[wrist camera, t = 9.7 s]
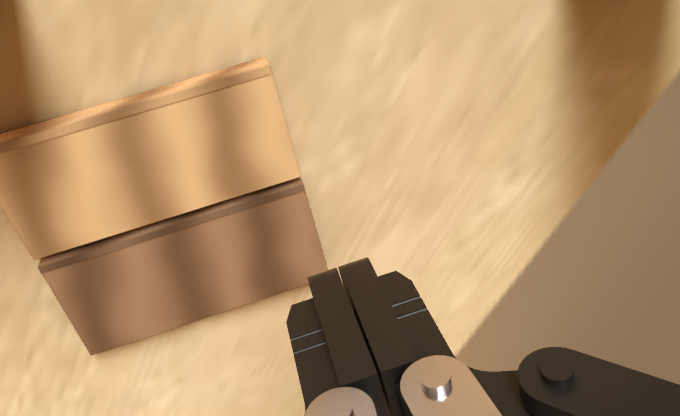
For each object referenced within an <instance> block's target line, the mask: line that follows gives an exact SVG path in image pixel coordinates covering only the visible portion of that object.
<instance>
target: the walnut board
mask: <svg viewBox="0 0 680 416" xmlns="http://www.w3.org/2000/svg"><path fill="white" fill-rule="evenodd" d="M38 269H39V271H40V272H41V274H43V276H44V278H45V279H46V281H47V283H48V284H49V286H50V288H51V289H52V291H53V293H54V294H55V296H56V298H57V299H58V301H59V303H60V304H61V306H62V308H63V310H64V311H65V313H66V315H67V316H68V318H69V320H70V321H71V323H72V325H73V326H74V328H75V330H76V331H77V333H78V335H79V336H80V338H81V340H82V341H83V343H84V345H85V346H86V348H87V350H88V351H89V353H90V355H94V354H97V353H100V352H103V351H106V350H109V349H112V348H115V347H119V346H122V345H125V344H128V343H131V342H134V341H137V340H140V339H143V338H146V337H149V336H152V335H155V334H158V333H161V332H164V331H167V330H170V329H173V328H176V327H179V326H182V325H185V324H188V323H191V322H194V321H197V320H200V319H203V318H206V317H209V316H212V315H215V314H218V313H221V312H224V311H227V310H230V309H233V308H236V307H239V306H242V305H245V304H248V303H251V302H255V301H258V300H261V299H264V298H267V297H270V296H273V295H276V294H279V293H282V292H285V291H288V290H291V289H294V288H297V287H300V286H303V285H306V284H309V282H308V279H307V277H309V276H312V275H315V274H319V273H322V272H325V271H328V269H327V265H326V262H325V258H324V255H323V251H322V248H321V244H320V241H319V237H318V234H317V230H316V227H315V223H314V220H313V216H312V213H311V210H310V206H309V203H308V199H307V196H306V192H305V188H304V185H303V182H302V180H301V178H300V177H298V178H295V179H292V180H289V181H285V182H282V183H279V184H276V185H273V186H269V187H266V188H263V189H260V190H257V191H253V192H250V193H247V194H244V195H241V196H237V197H234V198H231V199H228V200H225V201H221V202H218V203H215V204H212V205H209V206H205V207H202V208H199V209H196V210H193V211H189V212H186V213H183V214H180V215H177V216H173V217H170V218H167V219H164V220H161V221H157V222H154V223H151V224H148V225H145V226H141V227H138V228H135V229H132V230H129V231H125V232H122V233H119V234H116V235H113V236H109V237H106V238H103V239H100V240H97V241H94V242H90V243H87V244H84V245H81V246H78V247H74V248H71V249H68V250H65V251H62V252H58V253H55V254H52V255H49V256H46V257H42V258H41V260H40V263H39V266H38Z"/></svg>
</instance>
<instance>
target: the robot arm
mask: <svg viewBox="0 0 680 416" xmlns="http://www.w3.org/2000/svg"><path fill="white" fill-rule="evenodd" d="M339 271H340V275H341V278H340V276H339V273H338V271H337V268H334V269H331V270H328V271H325V272H322V273H319V274H315V275H312V276H309V277H307V279H308V282H309V285H310V289H311V292H312V295H313V298H312V299H309V300H306V301H303V302H300V303H297V304H294V305H292V306H291V309H290V312H289V316H288V319H287V322H286V323H287V327H288V332H289V336H290V340H291V345H292V349H293V353H294V358H295V362H296V367H297V371H298V375H299V380H300V384H301V389H302V393H303V397H304V402H305V415H304V416H680V385H678V384H675V383H672V382H669V381H666V380H663V379H660V378H657V377H654V376H651V375H648V374H644V373H642V372H639V371H636V370H632V369H629V368H626V367H623V366H620V365H617V364H614V363H611V362H608V361H605V360H602V359H599V358H596V357H592V356H590V355H587V354H583V353H580V352H577V351H574V350H571V349H567V348H561V347H548V348H543V349H539V350H537V351H534V352H532V353H531V354H529V355H528V356H527V357H525V358H524V360H523V361H522V362H521V364H520V366H519V369H518V371H501V372H486V371H480V370H476V369H473V368H470V367H468V366H466V365H465V364H464V363H463V362H461V361H460V360H458V359H457V358H456V357H455V356H454V355H453V353H452V352H451V350H450V348H449V347H448V345H447V343H446V341H445V339H444V338H443V336H442V334H441V332H440V330H439V329H438V327H437V325H436V323H435V322H434V320H433V318H432V316H431V314H430V313H429V311H428V310H427V308H426V306H425V304H424V302H423V300H422V298H420V295H419V293H418V291H417V290H416V288H415V286H414V284H413V282H412V281H411V280H410V279H408V278H406V277H405V276H403V275H402V274H400V273H399V272H397V271H394V272H391V273H388V274H385V275H382V276H378V277H377V275H376V273H375V271H374V269H373V266H372V264H371V262H370V260H369V259H368V257H367V258H364V259H361V260H358V261H355V262H352V263H349V264H346V265H343V266H340V267H339ZM341 279H342V281H341ZM342 282H343V284H342Z"/></svg>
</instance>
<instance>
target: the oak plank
mask: <svg viewBox="0 0 680 416" xmlns="http://www.w3.org/2000/svg"><path fill="white" fill-rule="evenodd" d="M298 177H301V175H300V171H299V168H298V164H297V161H296V157H295V154H294V150H293V147H292V143H291V140H290V136H289V133H288V129H287V126H286V122H285V119H284V115H283V112H282V108H281V105H280V101H279V98H278V94H277V91H276V87H275V84H274V80H273V77H272V73H271V69H270V66H269V63H268V61H267V59H266V57H263V58H259V59H256V60H252V61H249V62H246V63H242V64H239V65H235V66H232V67H228V68H225V69H222V70H218V71H215V72H211V73H208V74H204V75H201V76H198V77H194V78H191V79H187V80H184V81H180V82H177V83H174V84H170V85H167V86H163V87H160V88H156V89H153V90H150V91H146V92H143V93H139V94H136V95H132V96H129V97H126V98H122V99H119V100H115V101H112V102H108V103H105V104H101V105H98V106H95V107H91V108H88V109H84V110H81V111H77V112H74V113H71V114H67V115H64V116H60V117H57V118H53V119H50V120H47V121H43V122H40V123H36V124H33V125H29V126H26V127H23V128H19V129H16V130H12V131H9V132H5V133H2V134H0V207H1V208H2V210H3V211H4V213H5V214H6V216H7V218H8V219H9V221H10V222H11V224H12V226H13V227H14V229H15V230H16V232H17V233H18V235H19V237H20V238H21V240H22V241H23V243H24V245H25V246H26V248H27V249H28V251H29V252H30V254H31V256H32V257H33V259H34V260H36V259H39V258H42V257H46V256H49V255H52V254H55V253H58V252H62V251H65V250H68V249H71V248H74V247H78V246H81V245H84V244H87V243H90V242H94V241H97V240H100V239H103V238H106V237H109V236H113V235H116V234H119V233H122V232H125V231H129V230H132V229H135V228H138V227H141V226H145V225H148V224H151V223H154V222H157V221H161V220H164V219H167V218H170V217H173V216H177V215H180V214H183V213H186V212H189V211H193V210H196V209H199V208H202V207H205V206H209V205H212V204H215V203H218V202H221V201H225V200H228V199H231V198H234V197H237V196H241V195H244V194H247V193H250V192H253V191H257V190H260V189H263V188H266V187H269V186H273V185H276V184H279V183H282V182H285V181H289V180H292V179H295V178H298Z"/></svg>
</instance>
